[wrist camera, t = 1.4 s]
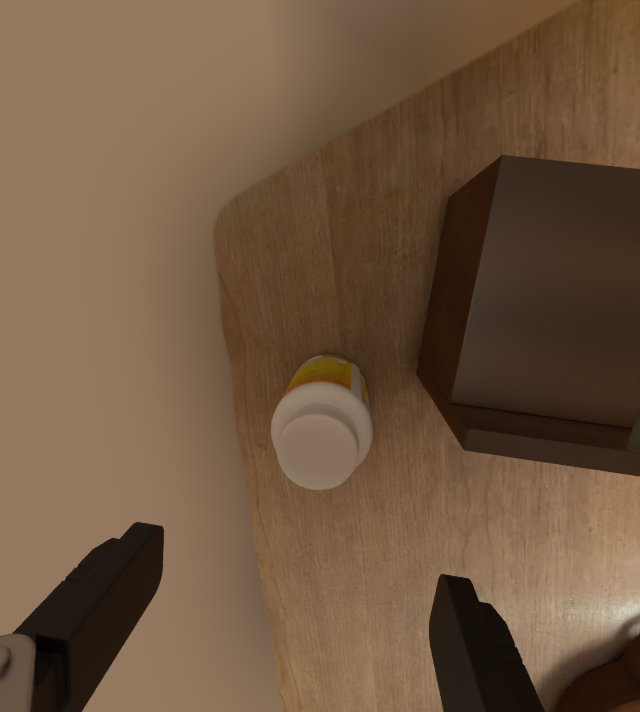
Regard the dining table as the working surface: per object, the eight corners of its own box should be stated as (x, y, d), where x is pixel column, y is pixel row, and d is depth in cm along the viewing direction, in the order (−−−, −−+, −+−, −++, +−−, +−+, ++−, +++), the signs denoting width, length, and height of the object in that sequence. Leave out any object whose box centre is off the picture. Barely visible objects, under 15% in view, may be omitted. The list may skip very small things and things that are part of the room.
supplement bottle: (277, 384, 28) (235, 445, 18) (333, 336, 27) (321, 373, 17) (326, 438, 29) (311, 526, 19) (383, 393, 28) (400, 461, 18)
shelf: (448, 197, 24) (535, 127, 13) (741, 229, 23) (1128, 185, 12) (416, 374, 27) (463, 450, 15) (677, 410, 26) (941, 521, 14)
